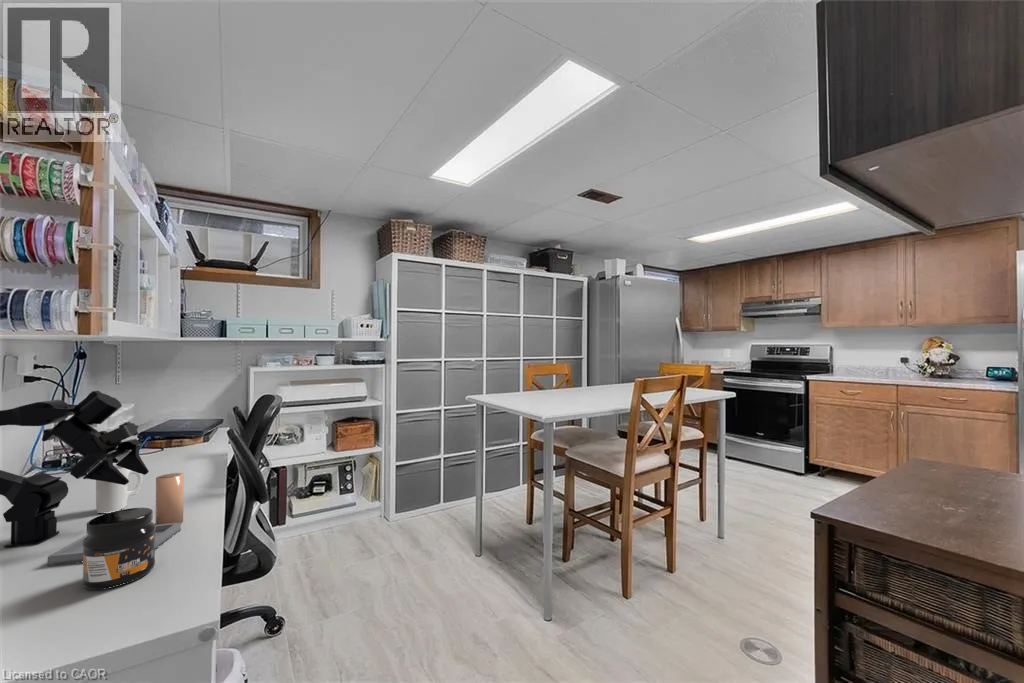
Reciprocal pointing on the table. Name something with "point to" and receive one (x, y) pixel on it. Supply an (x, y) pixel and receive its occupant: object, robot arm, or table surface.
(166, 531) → the charcoal tray
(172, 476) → the terracotta cup
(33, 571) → the table surface
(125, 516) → the supplement container
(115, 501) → the mug
